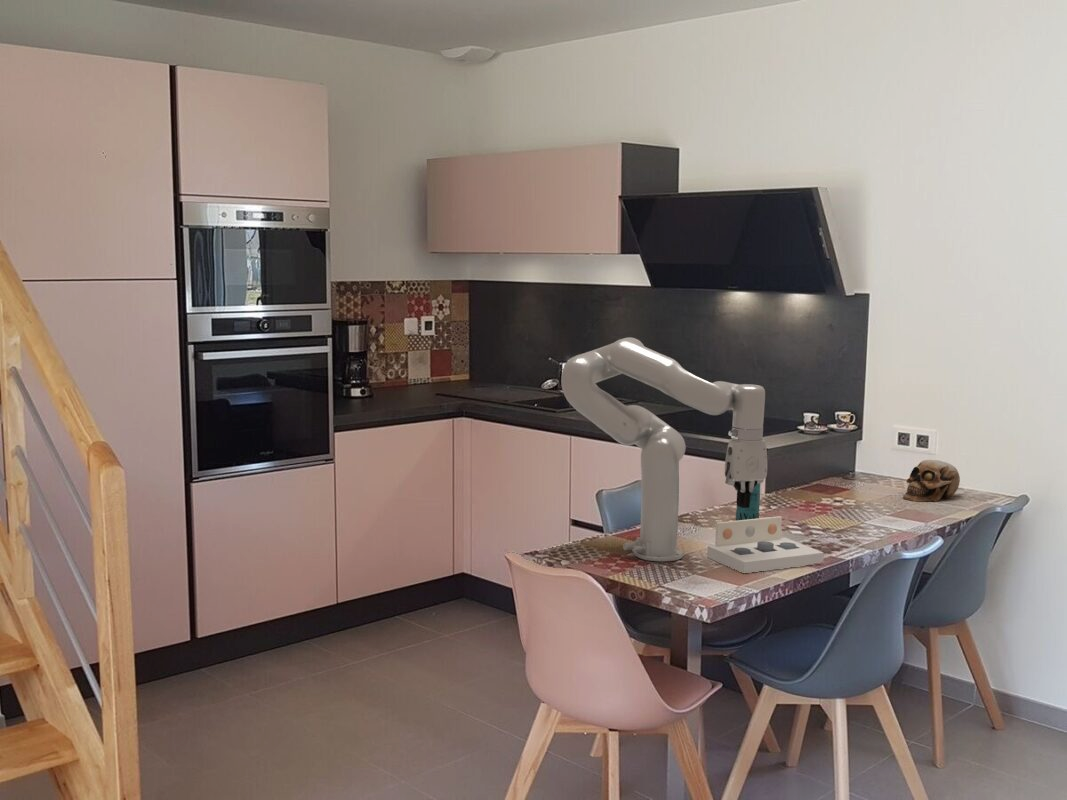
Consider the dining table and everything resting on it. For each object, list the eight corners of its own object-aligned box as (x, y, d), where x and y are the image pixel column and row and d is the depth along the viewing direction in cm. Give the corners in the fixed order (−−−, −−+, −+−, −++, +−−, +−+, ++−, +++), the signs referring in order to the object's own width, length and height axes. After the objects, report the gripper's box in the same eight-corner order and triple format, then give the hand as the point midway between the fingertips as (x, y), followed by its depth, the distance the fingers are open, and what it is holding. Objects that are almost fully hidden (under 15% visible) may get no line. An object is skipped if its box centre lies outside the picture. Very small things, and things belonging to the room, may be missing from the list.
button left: (739, 564, 267) (740, 552, 267) (730, 560, 271) (731, 548, 271) (753, 562, 269) (753, 551, 269) (743, 558, 273) (744, 547, 272)
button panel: (743, 574, 261) (745, 538, 260) (707, 557, 275) (708, 523, 274) (823, 564, 271) (825, 529, 269) (783, 548, 285) (785, 515, 284)
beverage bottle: (730, 530, 304) (733, 460, 301) (750, 528, 306) (753, 459, 303) (742, 535, 297) (745, 464, 295) (763, 534, 300) (766, 463, 297)
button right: (785, 558, 273) (786, 547, 273) (776, 554, 277) (776, 543, 276) (798, 557, 275) (799, 545, 274) (788, 553, 278) (789, 541, 278)
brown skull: (900, 499, 346) (905, 458, 346) (909, 495, 362) (914, 455, 361) (952, 507, 339) (957, 465, 338) (959, 502, 354) (964, 462, 353)
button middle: (763, 557, 270) (763, 546, 270) (753, 553, 274) (754, 542, 273) (776, 556, 272) (776, 544, 271) (766, 552, 275) (767, 540, 275)
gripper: (730, 438, 259) (726, 512, 262) (781, 435, 265) (776, 508, 268) (713, 433, 266) (709, 505, 269) (762, 430, 272) (758, 501, 275)
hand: (743, 506), depth 268 cm, fingers closed
